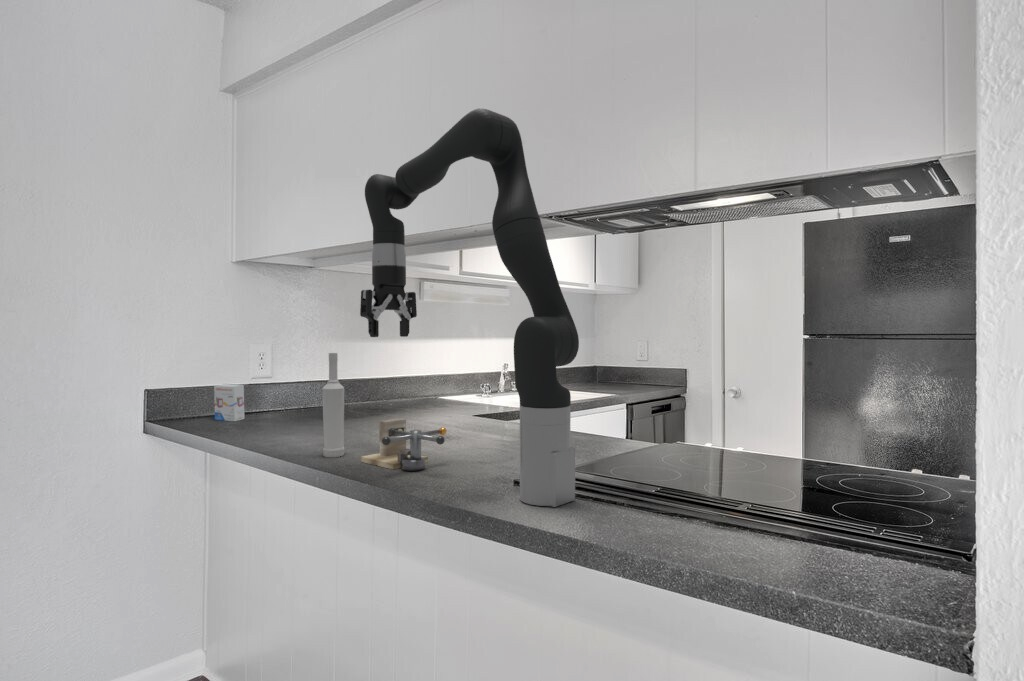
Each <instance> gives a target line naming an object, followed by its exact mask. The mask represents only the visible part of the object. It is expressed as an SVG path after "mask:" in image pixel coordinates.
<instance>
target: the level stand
mask: <svg viewBox="0 0 1024 681" xmlns="http://www.w3.org/2000/svg"><path fill="white" fill-rule="evenodd" d="M378 422H379V429H378V431H379V436H378V437H379V452H378V453H373V454H368V455H362V456H360V462H361V463H365V464H369V465H371V466H372V465H374V466H376V465H377V467H381V468H386V469H388V470H389V469H390V470H393V469H394V470H397V469H402V459H403V458H406V457H410V448H407V440H403V441H397V442H391V443H390V444H389V445H383V444H382V439H383V438H384V437H389V438H392V437H398V436H401V435H394V436H391V435H390V434H389V429H391V428H395V429H396V430H398V431H404V432H407V419H406V418H392V419H386V420H384V419H383V420H379V421H378ZM421 457H423V458H425V464H427V463H429V457H428V456H426V455H421Z"/></svg>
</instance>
